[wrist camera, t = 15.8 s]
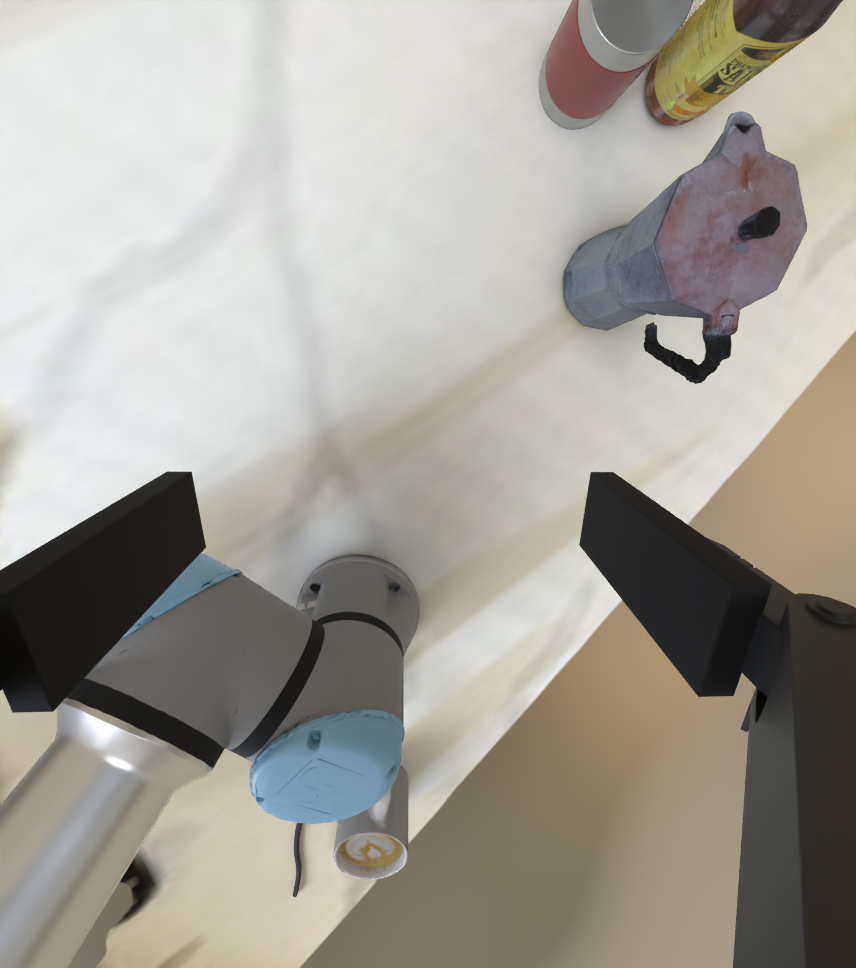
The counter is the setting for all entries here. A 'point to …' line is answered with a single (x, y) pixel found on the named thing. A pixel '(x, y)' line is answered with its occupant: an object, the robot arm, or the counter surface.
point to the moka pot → (696, 249)
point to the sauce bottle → (726, 51)
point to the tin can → (603, 54)
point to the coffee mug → (376, 836)
